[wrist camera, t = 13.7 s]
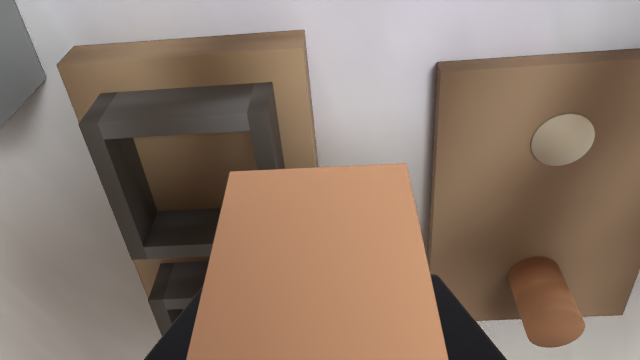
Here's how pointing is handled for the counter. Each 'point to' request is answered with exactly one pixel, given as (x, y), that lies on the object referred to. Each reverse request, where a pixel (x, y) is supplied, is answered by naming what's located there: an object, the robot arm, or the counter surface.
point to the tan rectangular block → (318, 269)
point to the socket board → (187, 139)
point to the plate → (538, 188)
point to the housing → (16, 62)
